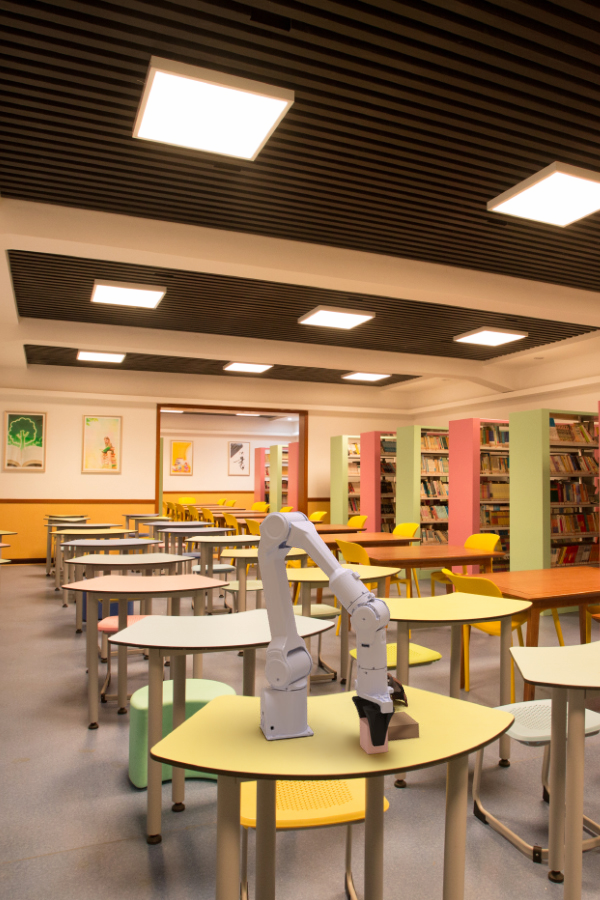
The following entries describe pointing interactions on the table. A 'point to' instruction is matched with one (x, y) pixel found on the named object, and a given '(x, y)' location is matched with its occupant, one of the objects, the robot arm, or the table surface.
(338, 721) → the table surface
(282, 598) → the robot arm
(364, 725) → the pink block
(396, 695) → the brown curved piece
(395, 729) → the brown block
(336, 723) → the table surface
